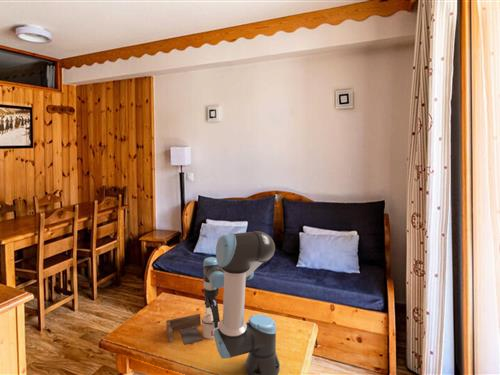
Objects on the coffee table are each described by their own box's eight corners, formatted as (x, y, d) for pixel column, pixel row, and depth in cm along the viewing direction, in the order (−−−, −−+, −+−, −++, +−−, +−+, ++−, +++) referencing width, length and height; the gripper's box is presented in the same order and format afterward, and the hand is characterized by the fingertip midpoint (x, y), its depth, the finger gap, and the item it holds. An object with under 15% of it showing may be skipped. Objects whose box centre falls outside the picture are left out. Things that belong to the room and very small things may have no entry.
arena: (207, 339, 165) (206, 328, 164) (171, 347, 158) (170, 336, 157) (200, 323, 179) (199, 313, 178) (166, 331, 172) (166, 320, 171)
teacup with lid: (213, 341, 163) (213, 319, 162) (198, 336, 167) (197, 315, 166) (225, 329, 174) (225, 308, 172) (211, 325, 178) (210, 305, 176)
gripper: (225, 296, 157) (226, 337, 160) (211, 276, 180) (212, 312, 183) (210, 299, 154) (211, 340, 157) (198, 279, 177) (199, 315, 180)
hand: (212, 325), depth 170 cm, fingers open, 13 cm apart
